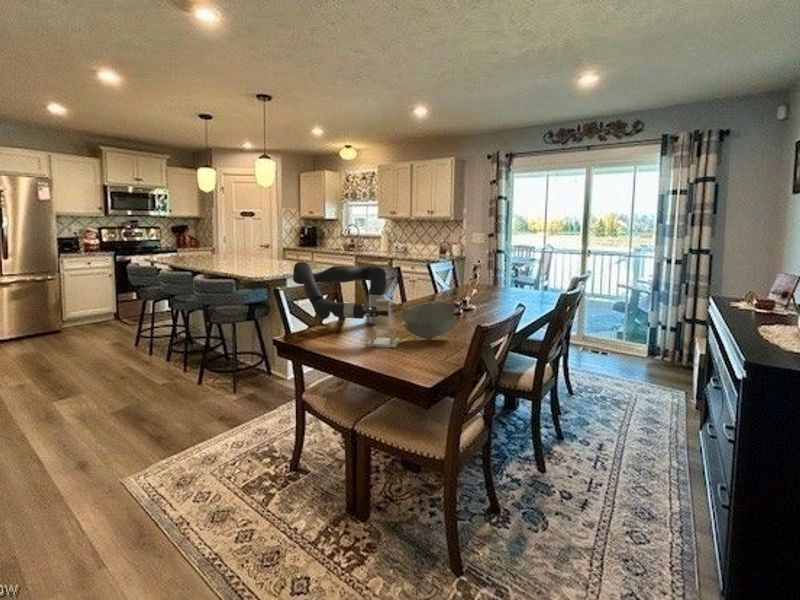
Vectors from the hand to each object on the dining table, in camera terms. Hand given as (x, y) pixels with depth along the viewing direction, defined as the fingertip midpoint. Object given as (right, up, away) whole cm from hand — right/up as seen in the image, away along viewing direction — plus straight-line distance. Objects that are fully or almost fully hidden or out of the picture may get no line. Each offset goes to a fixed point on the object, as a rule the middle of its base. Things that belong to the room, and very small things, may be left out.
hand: (388, 312), depth 209 cm
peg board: (-3, -15, +3) cm, 16 cm away
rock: (+20, -14, +11) cm, 27 cm away
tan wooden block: (-3, -8, +2) cm, 8 cm away
